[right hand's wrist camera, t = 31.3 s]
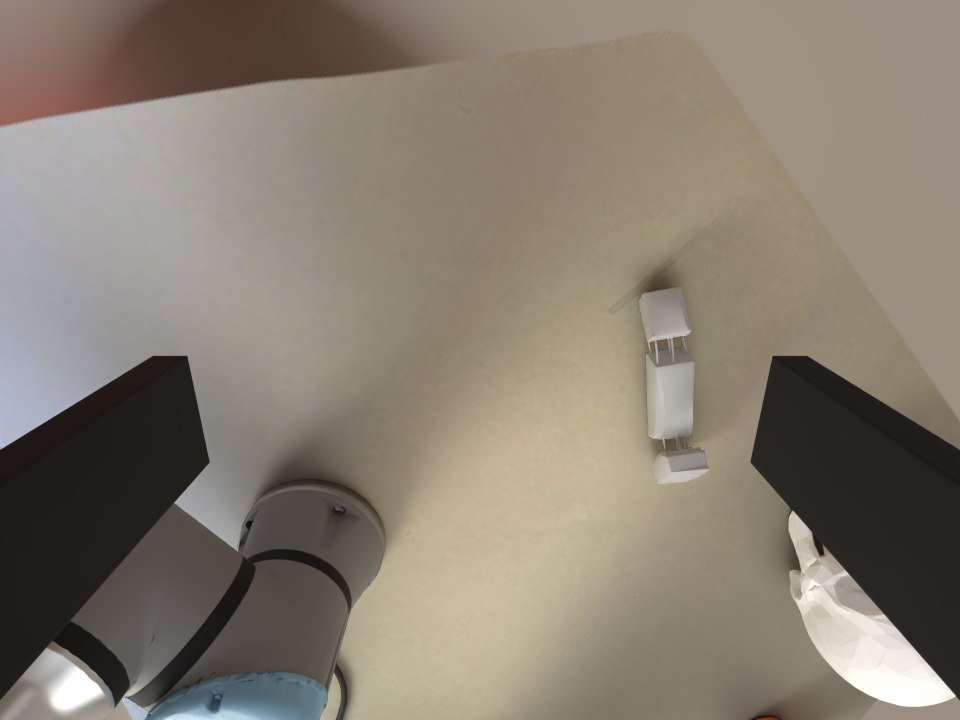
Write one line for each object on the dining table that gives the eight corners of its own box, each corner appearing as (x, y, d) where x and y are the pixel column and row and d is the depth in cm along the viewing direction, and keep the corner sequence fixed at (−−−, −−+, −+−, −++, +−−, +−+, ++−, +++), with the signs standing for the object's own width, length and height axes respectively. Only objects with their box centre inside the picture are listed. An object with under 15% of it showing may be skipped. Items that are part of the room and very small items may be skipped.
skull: (883, 440, 55) (1026, 549, 40) (905, 595, 62) (1033, 735, 47) (752, 479, 57) (841, 595, 42) (788, 624, 64) (874, 766, 49)
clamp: (687, 471, 55) (714, 506, 49) (651, 477, 56) (673, 512, 49) (671, 281, 50) (699, 291, 44) (631, 288, 50) (653, 299, 44)
